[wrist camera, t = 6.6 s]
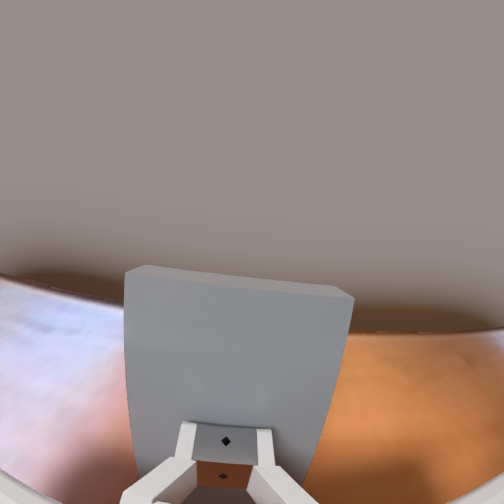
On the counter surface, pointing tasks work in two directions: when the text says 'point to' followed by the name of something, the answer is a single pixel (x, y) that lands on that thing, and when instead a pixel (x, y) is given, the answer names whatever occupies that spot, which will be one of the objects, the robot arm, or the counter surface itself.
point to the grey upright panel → (230, 363)
